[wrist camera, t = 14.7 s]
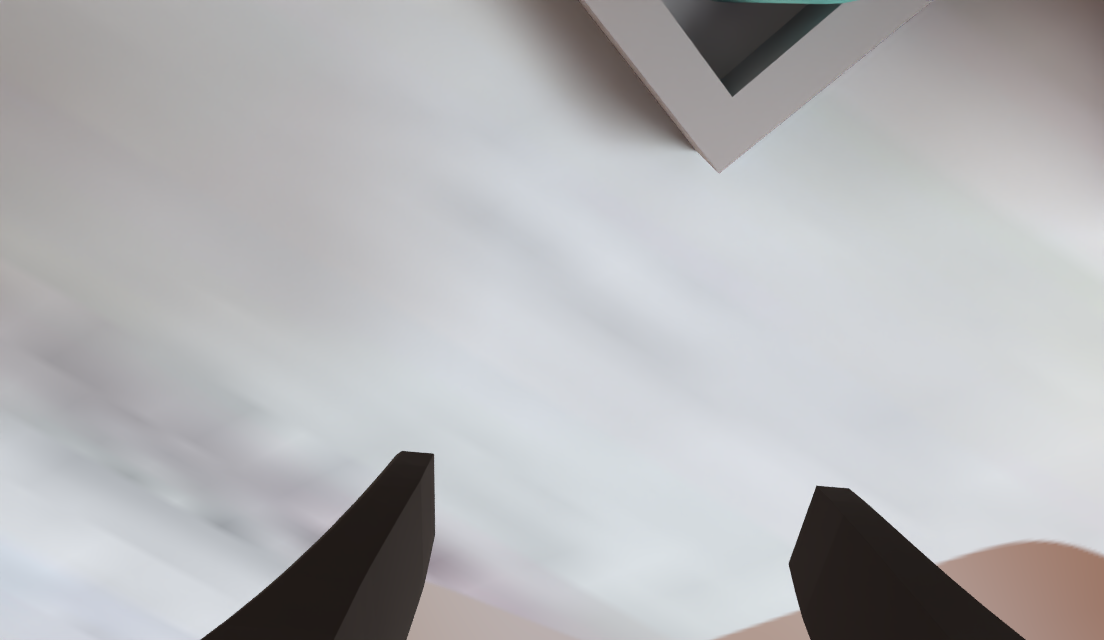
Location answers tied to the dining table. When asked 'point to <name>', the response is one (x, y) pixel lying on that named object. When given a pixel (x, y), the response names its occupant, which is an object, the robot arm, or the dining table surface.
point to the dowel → (789, 1)
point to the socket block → (742, 59)
